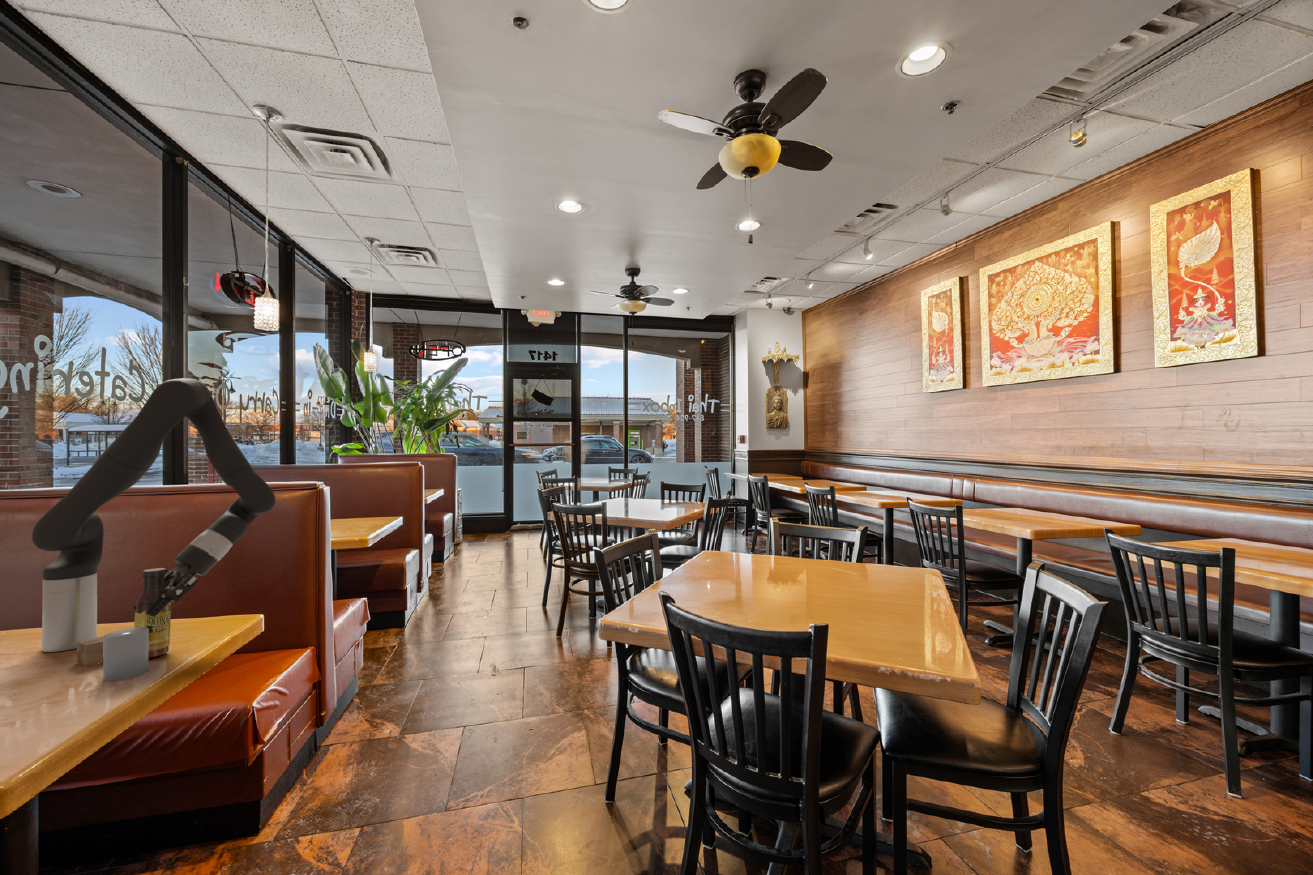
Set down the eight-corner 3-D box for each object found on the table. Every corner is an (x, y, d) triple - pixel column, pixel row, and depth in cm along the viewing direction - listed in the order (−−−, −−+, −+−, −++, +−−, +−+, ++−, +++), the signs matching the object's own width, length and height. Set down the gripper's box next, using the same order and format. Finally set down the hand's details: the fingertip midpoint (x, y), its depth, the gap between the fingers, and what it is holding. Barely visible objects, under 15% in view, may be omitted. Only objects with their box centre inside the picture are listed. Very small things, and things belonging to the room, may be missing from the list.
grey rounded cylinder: (97, 677, 115) (97, 635, 115) (140, 665, 121) (140, 625, 121) (110, 684, 112) (111, 640, 112) (154, 671, 118) (154, 629, 118)
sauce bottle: (147, 661, 123) (147, 573, 123) (125, 659, 124) (125, 572, 124) (178, 650, 129) (178, 567, 129) (157, 648, 130) (157, 566, 131)
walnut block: (76, 663, 123) (77, 641, 123) (107, 656, 127) (107, 634, 127) (85, 667, 120) (85, 645, 121) (115, 659, 125) (115, 638, 125)
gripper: (178, 541, 137) (114, 600, 126) (206, 545, 130) (141, 608, 119) (203, 558, 141) (143, 616, 131) (231, 563, 135) (171, 625, 124)
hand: (143, 612), depth 125 cm, fingers closed on sauce bottle, 6 cm apart
